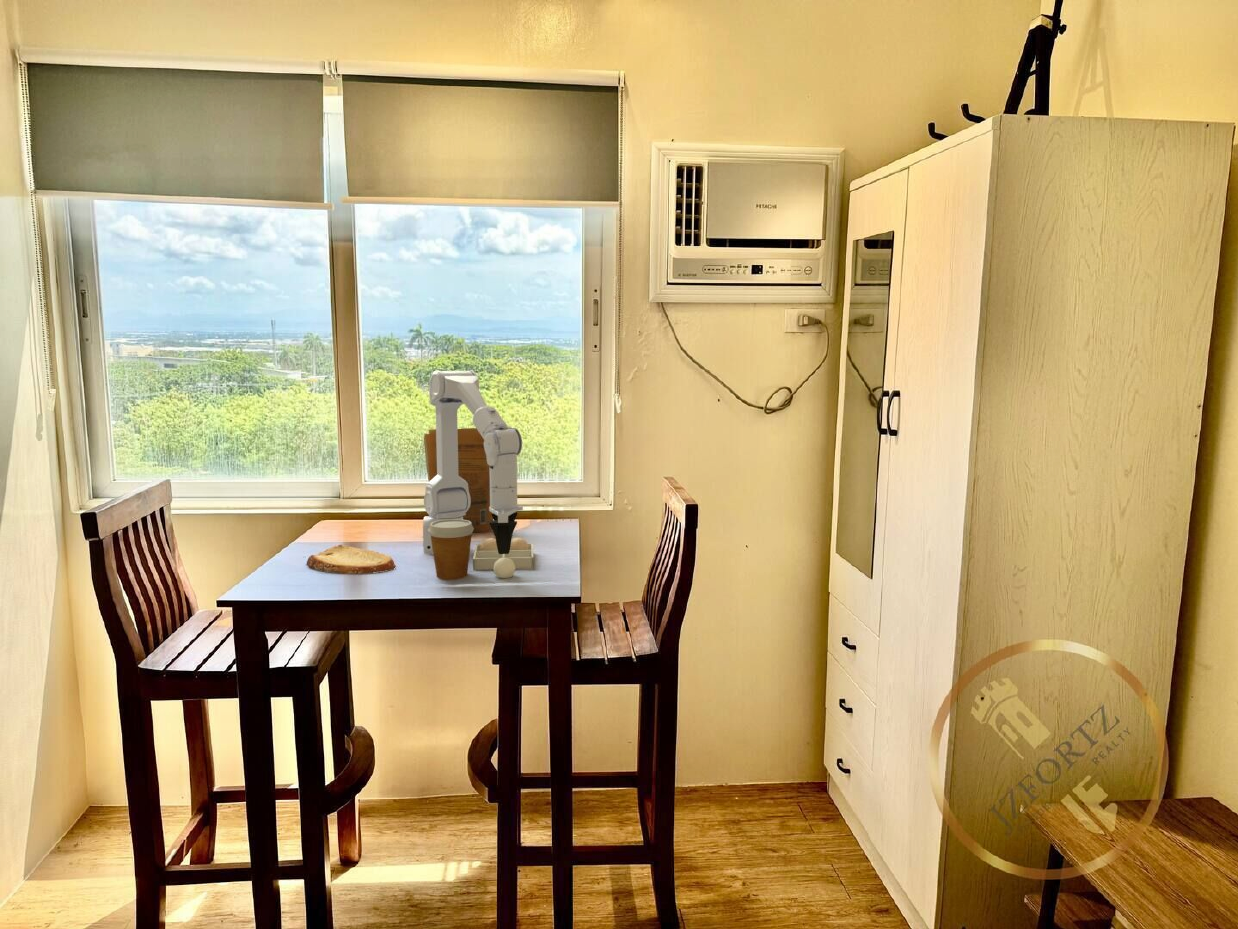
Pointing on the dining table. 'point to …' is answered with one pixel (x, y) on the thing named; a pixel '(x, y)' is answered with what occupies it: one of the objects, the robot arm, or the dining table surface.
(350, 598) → the dining table surface
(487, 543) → the brown egg left
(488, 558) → the egg carton
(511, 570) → the white egg
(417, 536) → the dining table surface
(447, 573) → the disposable coffee cup
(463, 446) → the pancake mix bag
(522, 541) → the brown egg right
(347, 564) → the slice of bread
